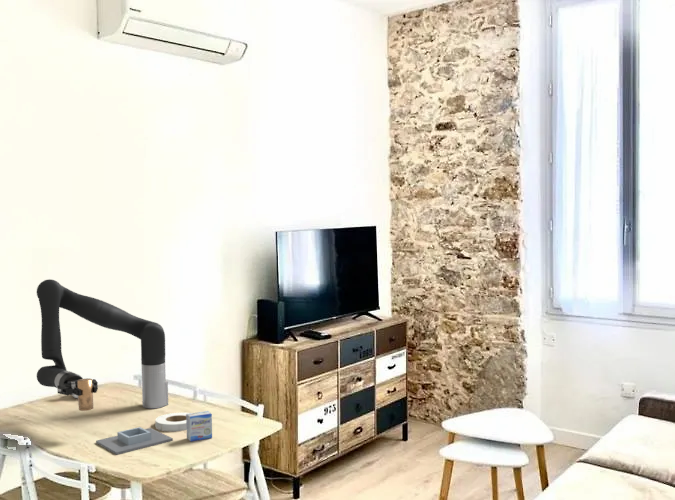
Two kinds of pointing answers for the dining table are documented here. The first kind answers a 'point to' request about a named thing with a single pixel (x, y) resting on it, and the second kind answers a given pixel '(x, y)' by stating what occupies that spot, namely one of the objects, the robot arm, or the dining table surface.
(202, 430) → the medicine box
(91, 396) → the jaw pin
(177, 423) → the roll of tape
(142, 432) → the housing
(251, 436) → the dining table surface
